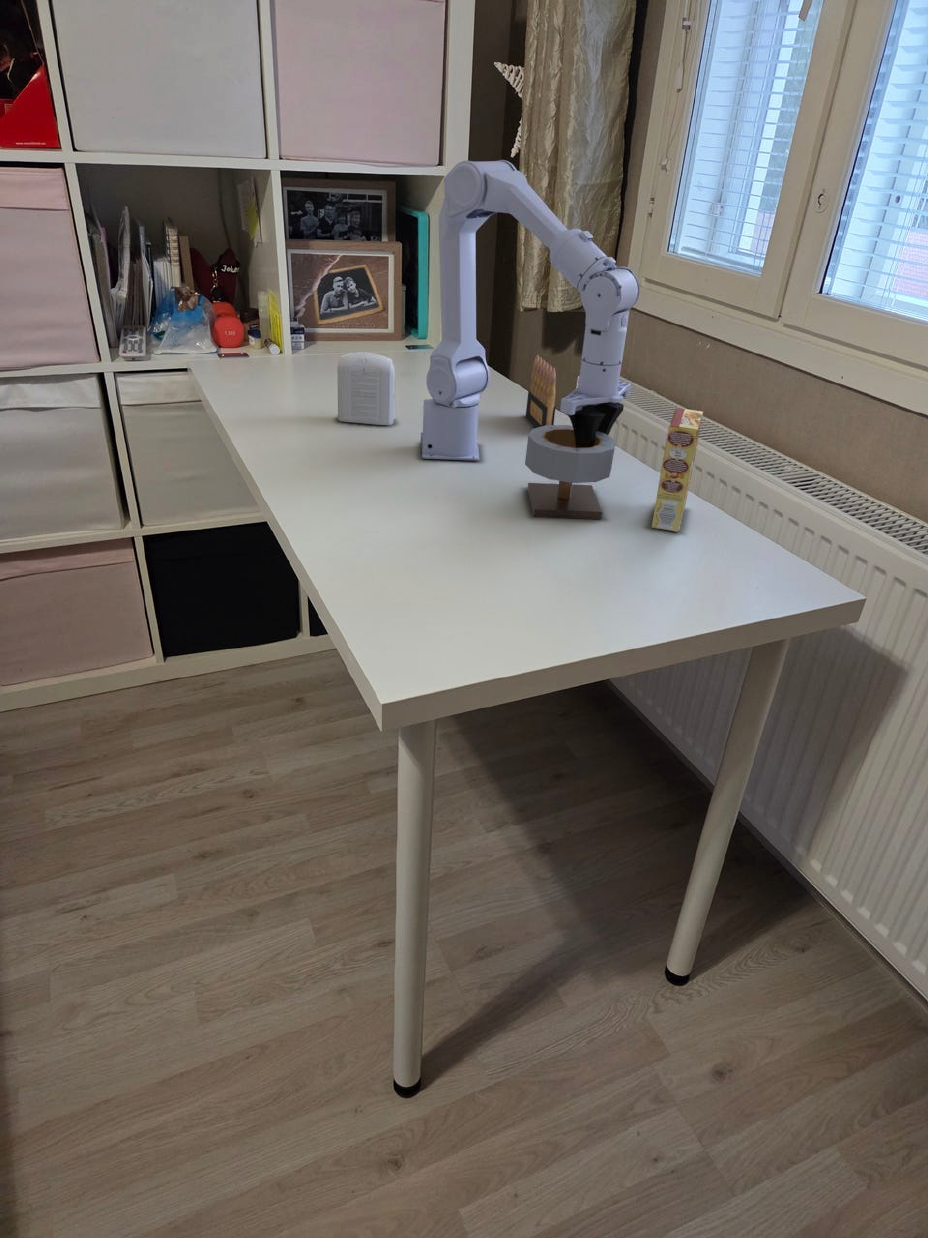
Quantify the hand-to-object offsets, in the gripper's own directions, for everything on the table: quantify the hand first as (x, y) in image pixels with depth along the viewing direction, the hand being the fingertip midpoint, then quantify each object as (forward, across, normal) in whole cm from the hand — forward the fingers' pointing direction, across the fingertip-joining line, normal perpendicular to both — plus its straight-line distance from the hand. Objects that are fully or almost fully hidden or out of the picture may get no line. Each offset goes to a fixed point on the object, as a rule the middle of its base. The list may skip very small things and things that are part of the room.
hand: (589, 451), depth 127 cm
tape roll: (+1, -5, 0) cm, 5 cm away
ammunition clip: (+7, +20, +26) cm, 33 cm away
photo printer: (+7, -4, +47) cm, 47 cm away
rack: (+7, -5, 0) cm, 9 cm away
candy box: (+7, +3, -13) cm, 15 cm away
